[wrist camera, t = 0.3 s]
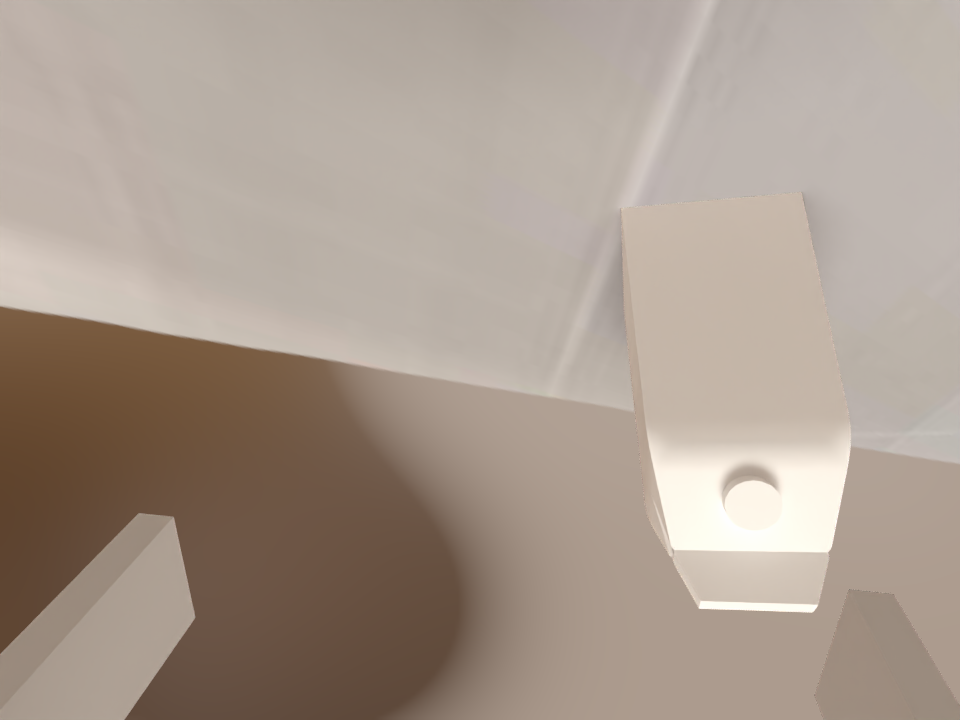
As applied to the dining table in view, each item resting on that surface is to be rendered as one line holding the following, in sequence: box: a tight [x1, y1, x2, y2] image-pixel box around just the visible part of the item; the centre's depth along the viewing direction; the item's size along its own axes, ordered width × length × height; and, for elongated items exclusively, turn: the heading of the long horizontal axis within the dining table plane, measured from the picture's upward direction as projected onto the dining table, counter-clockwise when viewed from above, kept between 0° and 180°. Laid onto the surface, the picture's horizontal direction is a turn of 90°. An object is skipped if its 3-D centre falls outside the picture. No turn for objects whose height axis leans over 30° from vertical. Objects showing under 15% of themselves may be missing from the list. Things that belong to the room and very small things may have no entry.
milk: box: [621, 192, 851, 612], centre depth 43 cm, size 12×12×26 cm
